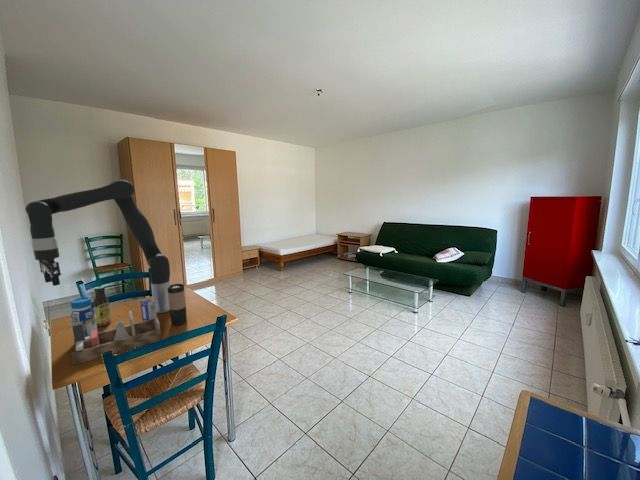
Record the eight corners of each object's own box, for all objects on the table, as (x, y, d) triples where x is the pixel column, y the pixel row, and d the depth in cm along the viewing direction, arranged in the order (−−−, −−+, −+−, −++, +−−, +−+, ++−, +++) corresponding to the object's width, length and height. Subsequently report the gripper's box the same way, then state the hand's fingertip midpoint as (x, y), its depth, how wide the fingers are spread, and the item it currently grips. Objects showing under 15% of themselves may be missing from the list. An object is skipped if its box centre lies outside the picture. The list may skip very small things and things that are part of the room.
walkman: (142, 321, 141) (139, 300, 139) (147, 319, 143) (145, 298, 141) (152, 324, 138) (150, 302, 136) (157, 322, 140) (155, 300, 138)
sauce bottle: (102, 327, 135) (97, 290, 131) (92, 326, 136) (86, 289, 132) (115, 321, 141) (109, 285, 137) (105, 320, 142) (99, 285, 139)
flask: (119, 339, 124) (116, 319, 122) (135, 339, 125) (132, 319, 123) (108, 348, 117) (105, 327, 115) (125, 347, 117) (122, 327, 116)
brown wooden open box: (157, 327, 135) (154, 305, 133) (161, 339, 124) (158, 315, 122) (76, 349, 116) (71, 323, 114) (73, 365, 106) (68, 337, 103)
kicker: (99, 341, 121) (95, 314, 119) (99, 356, 111) (94, 326, 108) (79, 347, 117) (74, 318, 114) (76, 362, 106) (71, 331, 104)
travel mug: (189, 322, 141) (186, 286, 137) (174, 327, 135) (170, 290, 132) (184, 317, 146) (180, 282, 142) (168, 322, 140) (165, 286, 137)
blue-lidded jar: (73, 341, 123) (66, 300, 119) (97, 333, 129) (91, 294, 125) (76, 348, 117) (69, 305, 114) (101, 340, 123) (94, 299, 120)
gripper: (63, 247, 115) (70, 283, 118) (51, 244, 122) (57, 278, 125) (39, 251, 109) (47, 289, 112) (27, 247, 115) (35, 283, 118)
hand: (52, 283), depth 118 cm, fingers open, 8 cm apart
